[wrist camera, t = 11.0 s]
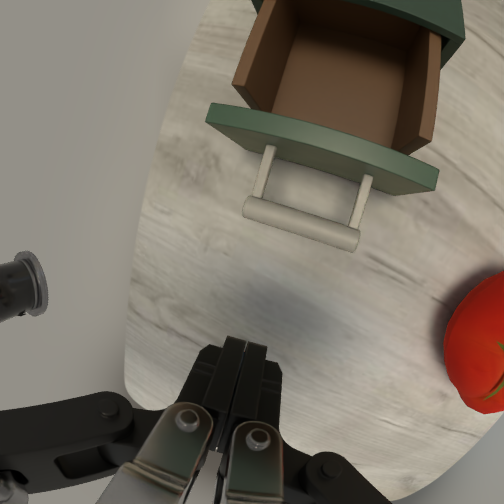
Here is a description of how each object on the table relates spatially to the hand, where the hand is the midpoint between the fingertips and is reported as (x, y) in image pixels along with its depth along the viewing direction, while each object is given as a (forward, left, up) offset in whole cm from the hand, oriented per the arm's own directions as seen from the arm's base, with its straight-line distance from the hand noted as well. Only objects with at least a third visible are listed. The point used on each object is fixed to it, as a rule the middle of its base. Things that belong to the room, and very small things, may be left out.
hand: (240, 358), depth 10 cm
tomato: (+20, +1, -14) cm, 25 cm away
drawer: (0, +13, -13) cm, 19 cm away
